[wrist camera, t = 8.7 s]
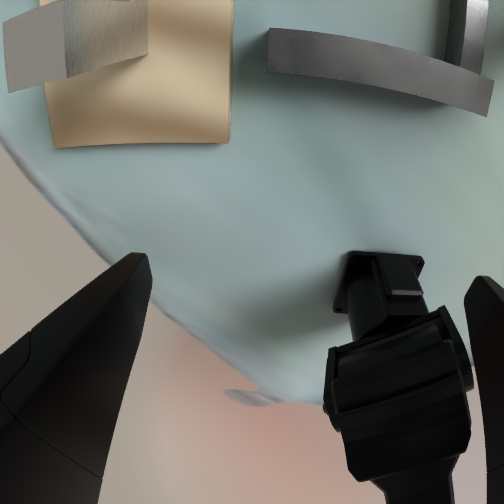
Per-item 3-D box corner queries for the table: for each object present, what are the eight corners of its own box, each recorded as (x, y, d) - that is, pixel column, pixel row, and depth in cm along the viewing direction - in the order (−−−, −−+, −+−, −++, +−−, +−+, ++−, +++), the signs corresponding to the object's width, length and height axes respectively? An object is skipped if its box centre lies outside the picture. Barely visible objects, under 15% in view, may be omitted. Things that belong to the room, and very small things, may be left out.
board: (230, 137, 19) (227, 143, 18) (63, 142, 19) (54, 148, 18) (238, -80, 10) (235, -86, 9) (52, -42, 10) (41, -43, 9)
